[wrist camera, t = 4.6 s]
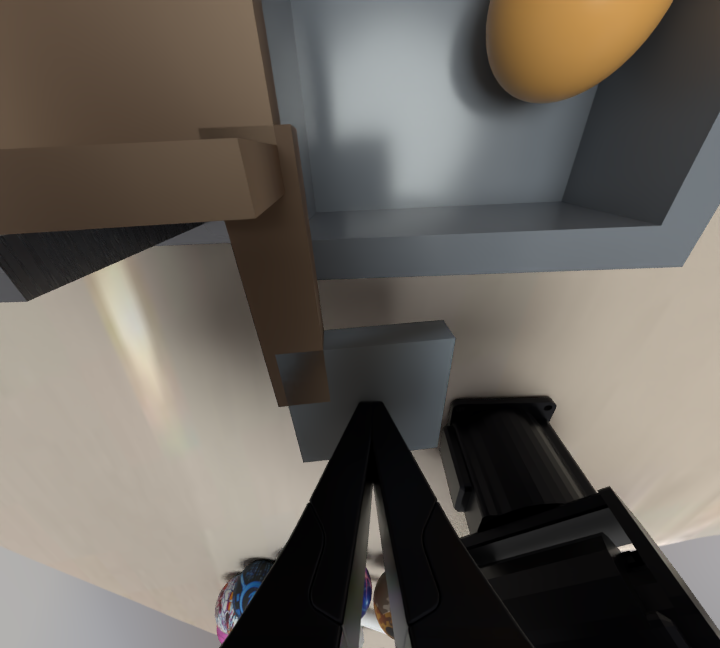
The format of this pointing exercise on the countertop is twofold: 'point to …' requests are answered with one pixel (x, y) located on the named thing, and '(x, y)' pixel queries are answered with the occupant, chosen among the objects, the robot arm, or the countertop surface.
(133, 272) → the countertop surface
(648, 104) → the grey open tray
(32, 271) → the lever stand
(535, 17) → the ball
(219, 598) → the decorated egg ring holder
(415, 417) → the tipping lever
